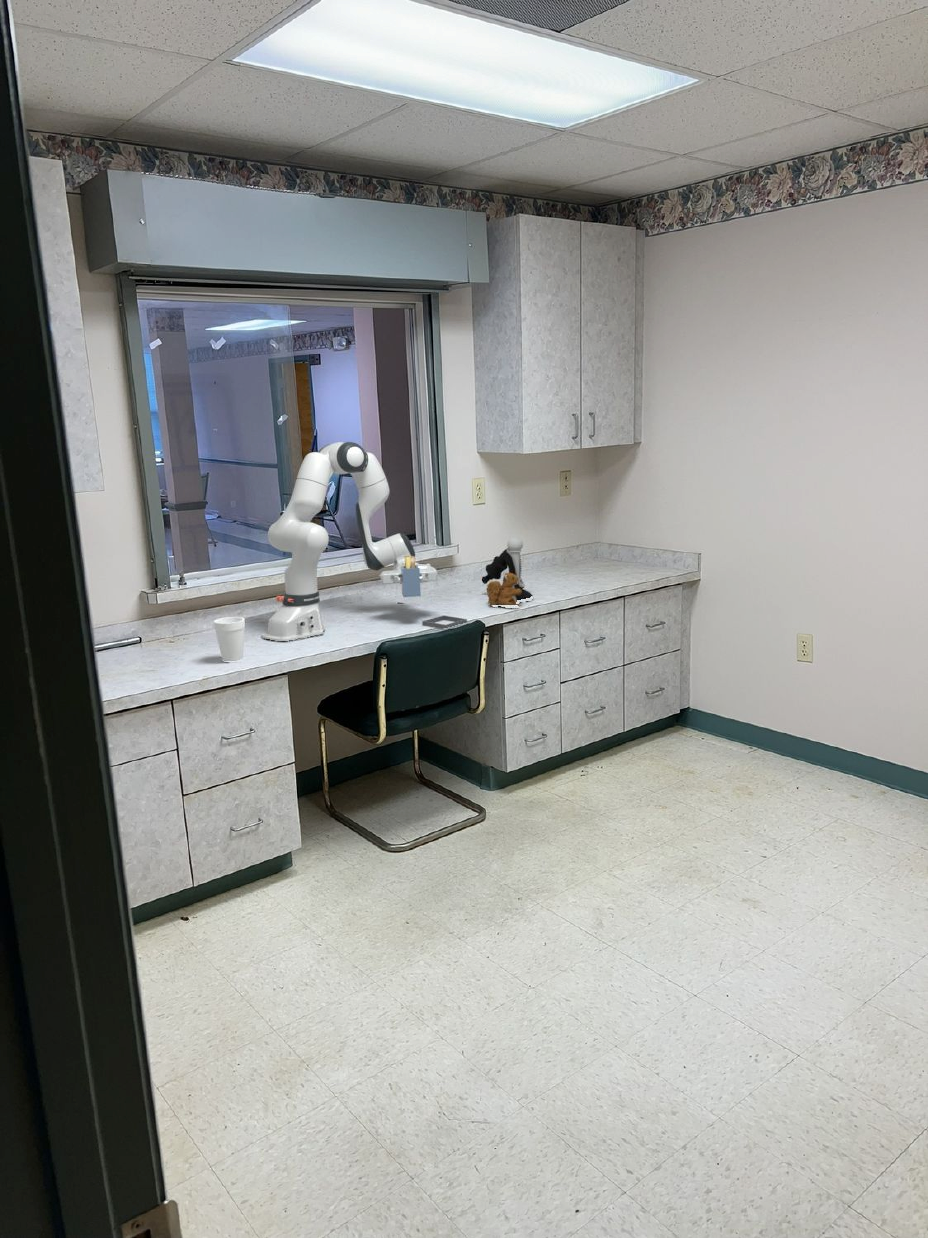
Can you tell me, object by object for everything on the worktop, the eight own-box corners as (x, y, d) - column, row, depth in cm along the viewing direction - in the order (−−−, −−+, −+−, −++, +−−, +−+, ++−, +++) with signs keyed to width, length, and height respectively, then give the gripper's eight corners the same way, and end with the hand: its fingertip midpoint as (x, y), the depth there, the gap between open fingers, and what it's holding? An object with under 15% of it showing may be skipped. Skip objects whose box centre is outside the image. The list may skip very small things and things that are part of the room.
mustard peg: (409, 594, 323) (407, 557, 320) (406, 593, 324) (404, 557, 321) (412, 593, 324) (410, 556, 321) (409, 593, 325) (407, 556, 322)
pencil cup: (403, 597, 322) (402, 569, 320) (402, 593, 328) (400, 566, 326) (420, 596, 323) (419, 568, 321) (418, 592, 329) (417, 565, 327)
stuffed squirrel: (520, 609, 350) (520, 575, 347) (484, 609, 353) (483, 575, 350) (523, 604, 360) (523, 570, 357) (487, 603, 362) (487, 570, 359)
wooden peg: (414, 593, 325) (412, 556, 322) (411, 592, 326) (409, 556, 323) (417, 592, 326) (415, 556, 323) (414, 592, 327) (412, 555, 324)
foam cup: (250, 656, 295) (247, 616, 292) (245, 663, 286) (241, 623, 283) (220, 657, 295) (217, 617, 292) (214, 664, 286) (210, 624, 283)
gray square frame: (445, 631, 319) (445, 625, 319) (422, 627, 326) (422, 621, 326) (467, 625, 327) (466, 619, 327) (443, 621, 334) (443, 615, 334)
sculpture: (518, 604, 358) (517, 541, 353) (471, 598, 373) (469, 537, 367) (541, 598, 370) (540, 536, 364) (494, 592, 384) (492, 532, 379)
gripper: (378, 566, 335) (380, 572, 321) (434, 563, 338) (439, 569, 324) (379, 583, 336) (381, 590, 323) (434, 580, 339) (439, 587, 326)
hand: (410, 580), depth 323 cm, fingers closed on pencil cup, 6 cm apart
